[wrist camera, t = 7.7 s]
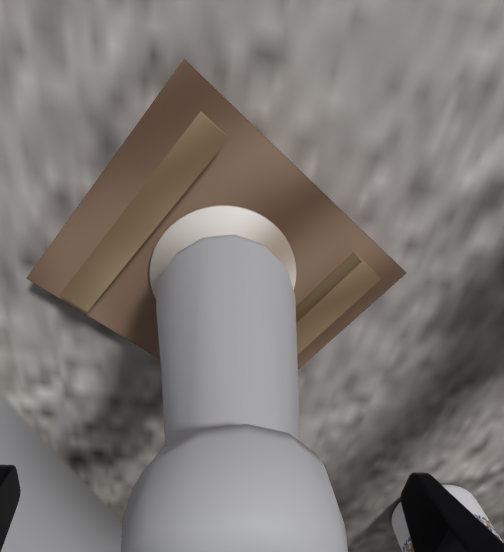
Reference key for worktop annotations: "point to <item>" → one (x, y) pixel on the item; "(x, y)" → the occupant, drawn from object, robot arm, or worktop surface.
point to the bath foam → (459, 494)
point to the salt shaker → (230, 415)
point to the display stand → (208, 221)
